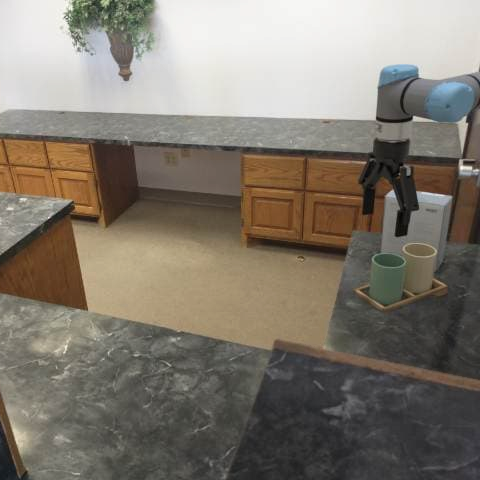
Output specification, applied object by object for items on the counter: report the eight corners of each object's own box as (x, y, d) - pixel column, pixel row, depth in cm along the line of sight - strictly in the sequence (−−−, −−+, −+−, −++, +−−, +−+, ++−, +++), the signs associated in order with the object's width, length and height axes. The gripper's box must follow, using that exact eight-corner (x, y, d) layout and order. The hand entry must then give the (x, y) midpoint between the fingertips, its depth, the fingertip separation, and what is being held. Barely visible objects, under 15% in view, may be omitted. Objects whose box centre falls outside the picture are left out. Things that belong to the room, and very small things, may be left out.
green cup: (407, 304, 128) (413, 262, 122) (383, 313, 125) (388, 271, 120) (384, 290, 134) (389, 250, 129) (361, 298, 132) (365, 258, 127)
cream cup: (437, 293, 131) (443, 251, 125) (414, 301, 128) (420, 260, 123) (413, 280, 137) (418, 240, 132) (391, 287, 135) (396, 247, 129)
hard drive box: (443, 261, 144) (454, 196, 135) (435, 273, 139) (446, 206, 130) (387, 248, 153) (394, 186, 145) (377, 259, 149) (384, 195, 140)
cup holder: (446, 294, 130) (447, 285, 129) (383, 317, 124) (384, 309, 123) (413, 276, 139) (414, 268, 138) (353, 297, 133) (353, 289, 132)
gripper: (347, 128, 124) (342, 208, 133) (412, 155, 102) (401, 249, 111) (375, 123, 125) (368, 203, 134) (446, 149, 103) (432, 243, 112)
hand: (383, 224), depth 123 cm, fingers open, 13 cm apart
